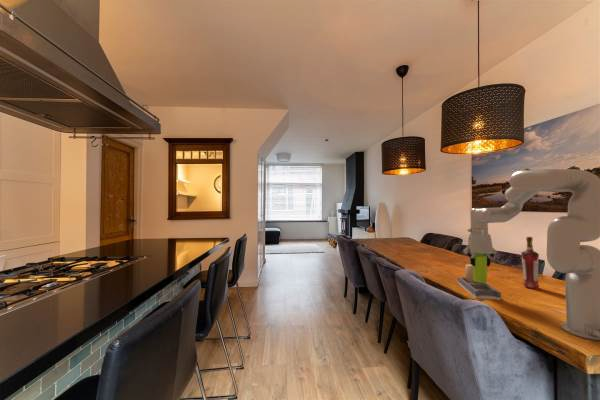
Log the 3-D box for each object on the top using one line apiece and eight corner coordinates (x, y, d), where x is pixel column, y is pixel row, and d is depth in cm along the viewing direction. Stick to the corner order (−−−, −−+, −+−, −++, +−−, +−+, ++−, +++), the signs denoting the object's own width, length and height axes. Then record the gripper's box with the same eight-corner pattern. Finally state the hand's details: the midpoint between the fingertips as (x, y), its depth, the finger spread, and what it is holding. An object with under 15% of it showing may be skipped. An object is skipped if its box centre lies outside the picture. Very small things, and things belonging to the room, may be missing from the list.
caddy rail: (501, 299, 129) (500, 275, 129) (475, 298, 131) (474, 274, 131) (478, 284, 154) (478, 263, 154) (457, 283, 156) (457, 262, 157)
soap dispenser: (491, 283, 134) (491, 243, 135) (476, 282, 136) (476, 243, 136) (485, 280, 140) (486, 242, 140) (471, 279, 141) (471, 241, 142)
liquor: (523, 284, 151) (521, 235, 152) (540, 287, 146) (539, 236, 146) (521, 287, 146) (519, 237, 147) (539, 290, 141) (537, 238, 141)
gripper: (463, 232, 137) (464, 266, 136) (501, 232, 133) (502, 268, 132) (458, 230, 144) (459, 263, 144) (494, 230, 140) (495, 264, 140)
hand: (480, 265), depth 138 cm, fingers closed on soap dispenser, 6 cm apart
